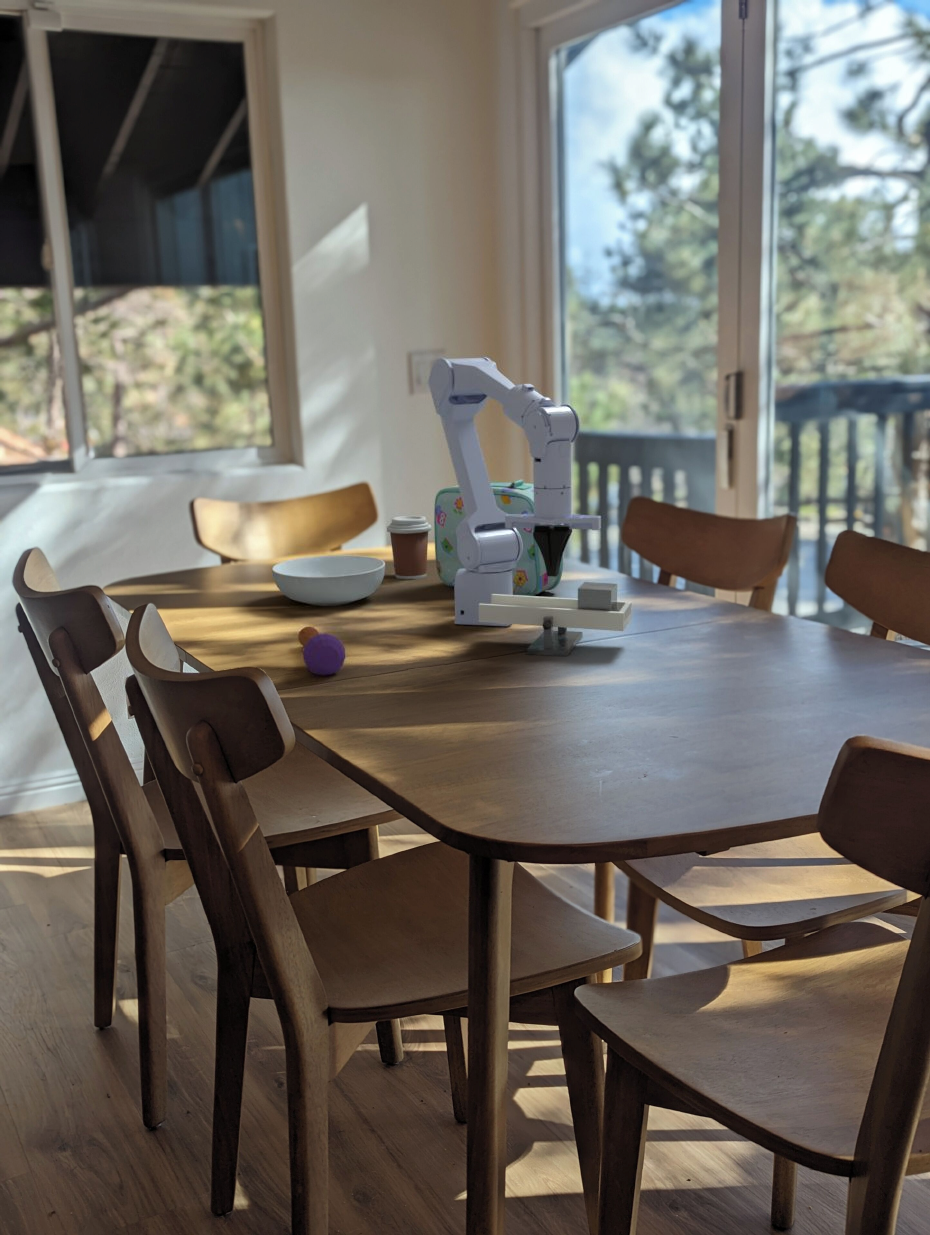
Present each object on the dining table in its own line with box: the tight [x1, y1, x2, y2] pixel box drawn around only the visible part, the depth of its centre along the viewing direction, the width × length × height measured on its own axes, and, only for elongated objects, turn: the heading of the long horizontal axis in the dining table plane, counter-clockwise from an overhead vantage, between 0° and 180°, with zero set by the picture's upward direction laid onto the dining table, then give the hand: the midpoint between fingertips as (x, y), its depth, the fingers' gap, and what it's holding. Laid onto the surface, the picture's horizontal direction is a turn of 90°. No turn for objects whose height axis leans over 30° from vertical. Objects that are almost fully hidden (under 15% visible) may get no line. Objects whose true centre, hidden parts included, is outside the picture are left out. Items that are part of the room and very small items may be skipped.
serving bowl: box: [271, 554, 386, 607], centre depth 211 cm, size 21×21×7 cm
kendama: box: [297, 626, 346, 677], centre depth 169 cm, size 6×6×20 cm
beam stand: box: [526, 617, 583, 657], centre depth 174 cm, size 6×12×6 cm, turn 163°
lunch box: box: [433, 478, 564, 596], centre depth 214 cm, size 27×10×21 cm, turn 50°
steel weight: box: [577, 581, 618, 612], centre depth 171 cm, size 5×5×4 cm
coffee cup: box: [386, 515, 432, 580], centre depth 232 cm, size 9×9×12 cm
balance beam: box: [479, 594, 633, 632], centre depth 173 cm, size 22×8×3 cm, turn 73°
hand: (553, 575), depth 175 cm, fingers closed
